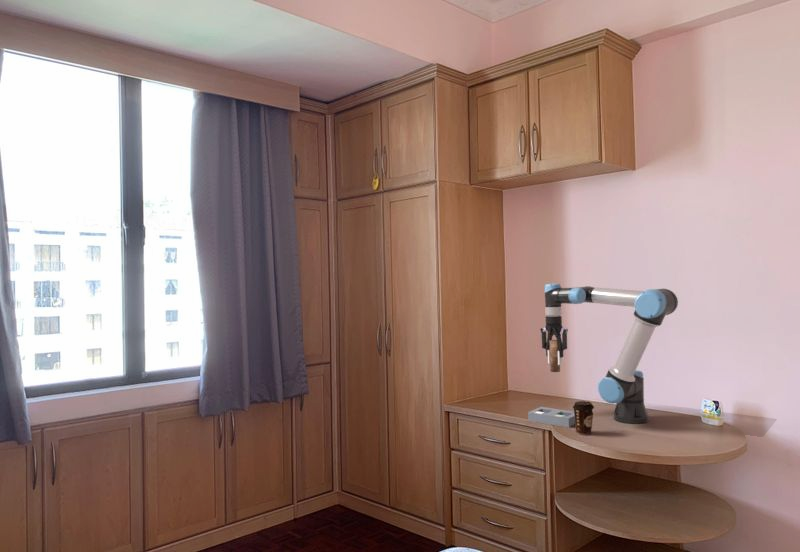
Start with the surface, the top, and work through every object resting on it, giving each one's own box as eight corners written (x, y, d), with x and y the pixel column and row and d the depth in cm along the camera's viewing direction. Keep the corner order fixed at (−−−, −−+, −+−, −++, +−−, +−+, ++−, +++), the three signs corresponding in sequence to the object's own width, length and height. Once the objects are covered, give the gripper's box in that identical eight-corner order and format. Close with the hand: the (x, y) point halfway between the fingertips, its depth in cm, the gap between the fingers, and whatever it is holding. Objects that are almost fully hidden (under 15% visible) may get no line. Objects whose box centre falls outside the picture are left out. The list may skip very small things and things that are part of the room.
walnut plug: (561, 371, 280) (560, 340, 280) (557, 372, 276) (556, 341, 276) (553, 370, 283) (552, 339, 283) (548, 371, 279) (547, 340, 279)
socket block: (541, 414, 279) (541, 406, 279) (581, 421, 266) (580, 412, 266) (528, 420, 269) (528, 411, 269) (568, 427, 256) (568, 418, 256)
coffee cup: (596, 431, 248) (596, 401, 248) (592, 436, 241) (591, 405, 241) (576, 429, 252) (575, 399, 252) (571, 434, 245) (570, 403, 245)
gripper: (574, 315, 276) (575, 364, 276) (540, 314, 288) (542, 361, 288) (567, 316, 271) (568, 366, 271) (533, 315, 282) (534, 363, 282)
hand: (555, 363), depth 279 cm, fingers closed on walnut plug, 5 cm apart
